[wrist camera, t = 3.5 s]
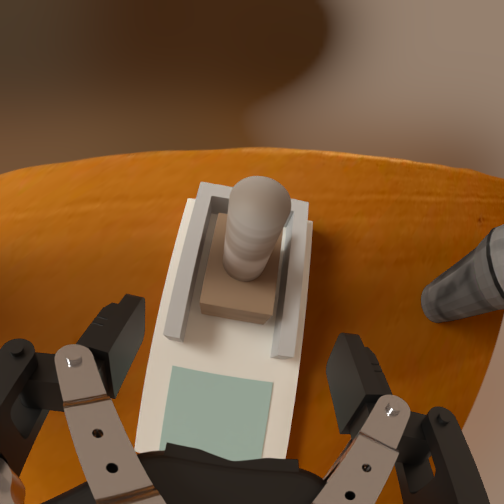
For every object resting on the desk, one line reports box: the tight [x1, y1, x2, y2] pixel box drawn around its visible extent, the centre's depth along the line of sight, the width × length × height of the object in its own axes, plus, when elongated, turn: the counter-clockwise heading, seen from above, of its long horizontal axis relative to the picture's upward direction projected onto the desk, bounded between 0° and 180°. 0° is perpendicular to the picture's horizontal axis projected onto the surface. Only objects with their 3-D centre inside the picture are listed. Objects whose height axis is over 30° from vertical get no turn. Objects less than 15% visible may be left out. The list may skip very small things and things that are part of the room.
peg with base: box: [199, 176, 291, 325], centre depth 20 cm, size 7×5×12 cm
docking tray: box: [134, 182, 313, 461], centre depth 24 cm, size 23×12×4 cm, turn 172°
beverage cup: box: [421, 225, 504, 323], centre depth 20 cm, size 7×7×20 cm
